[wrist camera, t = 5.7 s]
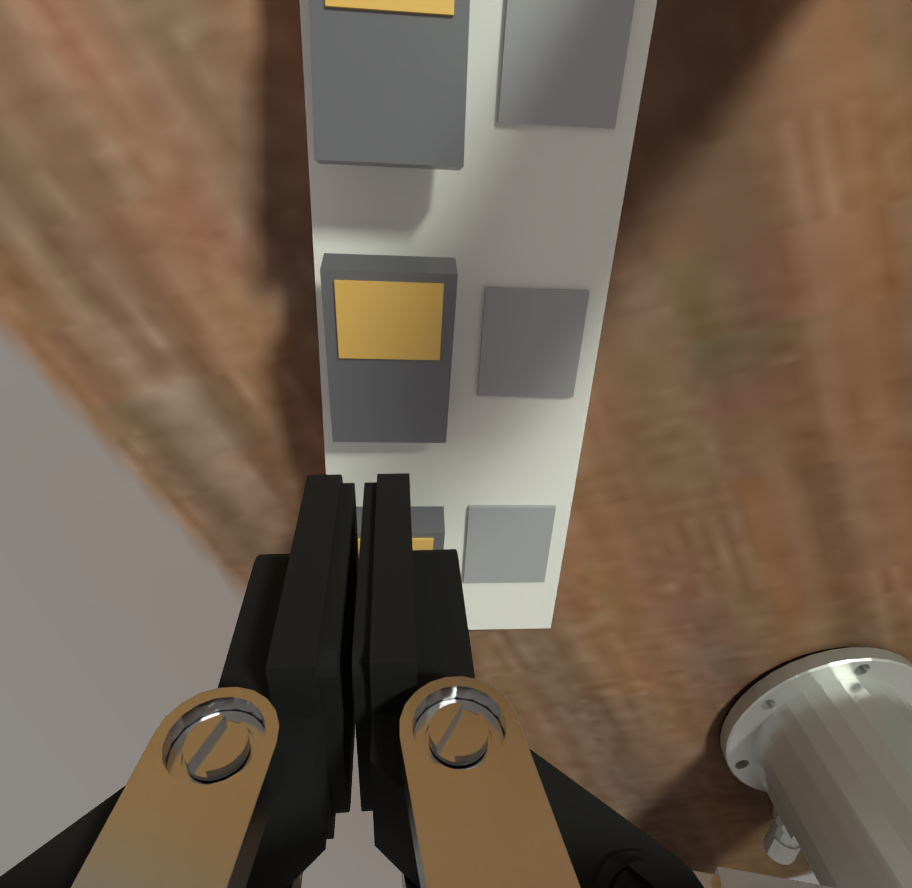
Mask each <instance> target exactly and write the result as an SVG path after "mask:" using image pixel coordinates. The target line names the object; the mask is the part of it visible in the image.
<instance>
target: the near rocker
mask: <svg viewBox="0 0 912 888" xmlns="http://www.w3.org/2000/svg"><path fill="white" fill-rule="evenodd" d="M469 12H470V0H309V13H310V44H311V75H312V106H313V137H314V160H315V161H317V162H318V163H319V164H335V165H356V166H377V167H397V168H418V169H439V170H459V171H460V170H461V169H462V168H463V167H464V142H465V116H466V90H467V64H468V38H469Z"/></svg>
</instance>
